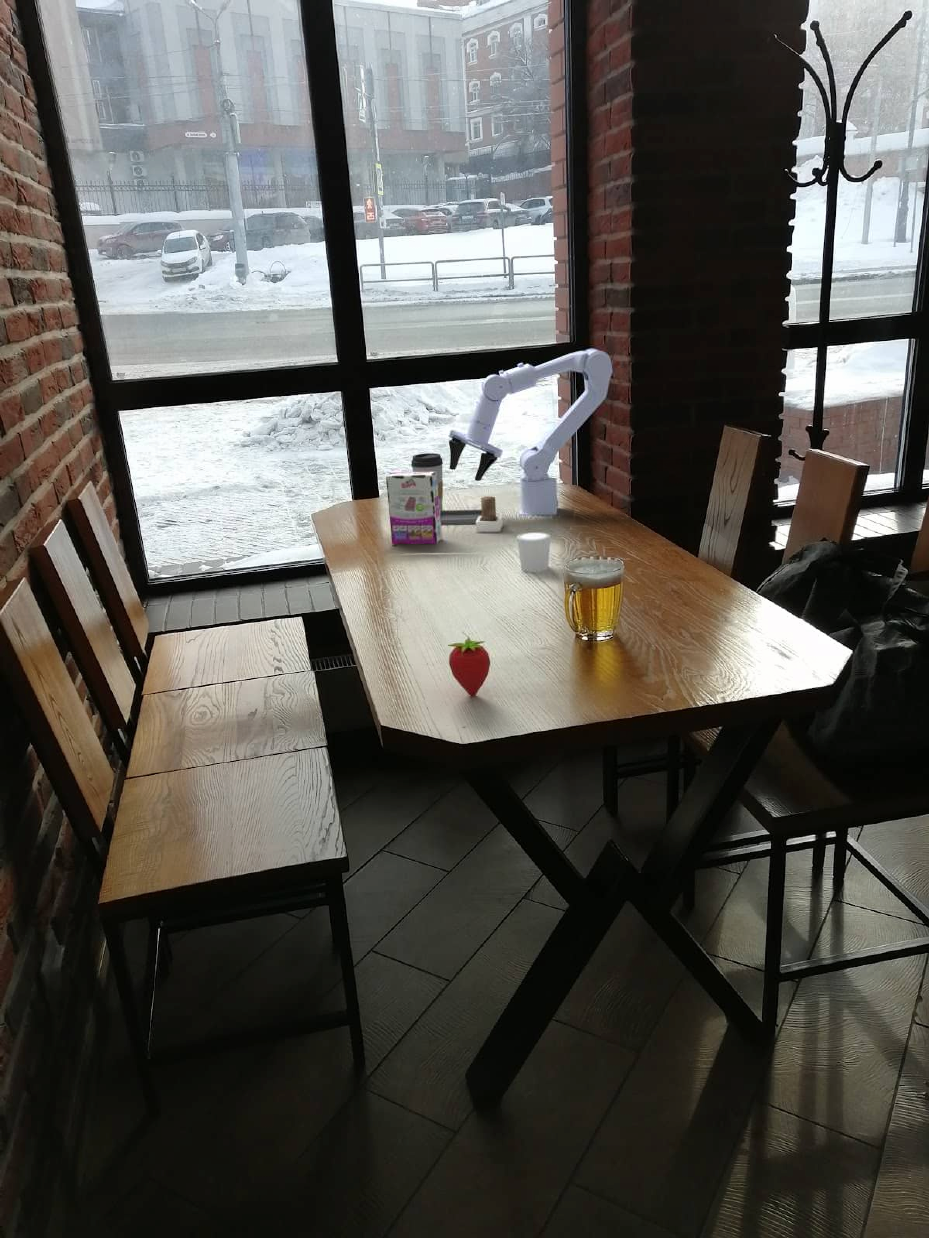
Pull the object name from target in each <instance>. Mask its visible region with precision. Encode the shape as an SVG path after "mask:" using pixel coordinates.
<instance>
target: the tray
mask: <svg viewBox="0 0 929 1238" xmlns="http://www.w3.org/2000/svg"><path fill="white" fill-rule="evenodd" d="M478 516H482V509H459V510H458V509H450V510H449V509H448V510H447V509H446V510H443V509H442V510H441V511H440V519H441V526H445V525H448V526H449V524H450V525H452V524H453V525H476V520H477V518H478Z"/></svg>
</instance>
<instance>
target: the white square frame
mask: <svg viewBox="0 0 929 1238" xmlns="http://www.w3.org/2000/svg"><path fill="white" fill-rule="evenodd" d="M503 525H504V524H503V515H496V521H482V516H478V518H477V520H476V524H475V533H495V532H496V533H497V532H498V533H499V532H502V529H503Z"/></svg>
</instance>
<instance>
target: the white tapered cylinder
mask: <svg viewBox="0 0 929 1238" xmlns="http://www.w3.org/2000/svg"><path fill="white" fill-rule="evenodd" d="M516 537H517V538H516V539H517V546H518V554H519V560H520V561H519V563H520V569H521V571H523V572H525V573H526V572H527V573H541V572H544V571H547V570H548V569H549V559H550V544H551V535H550V534H549V533H548V532H547V533H546V532H541V531H540V532H539V531H534V532H533V531H532V532H524V533H520V534H518V535H517V536H516Z"/></svg>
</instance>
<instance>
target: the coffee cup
mask: <svg viewBox="0 0 929 1238" xmlns="http://www.w3.org/2000/svg"><path fill="white" fill-rule="evenodd" d="M443 464H444V462H443V458H442V455H441V454H440V453H437V452H436V453H434V452H431V453H430V452H428V453H419V454H414V455H412V459H411V464H410V466H411V468H412V469H411V470H412V472H437V479H438V492H439V506H440V511H441V510H443V494H444V491H443V490H444V487H443V486H444V484H443V483H444V482H443V481H444V480H443Z"/></svg>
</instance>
